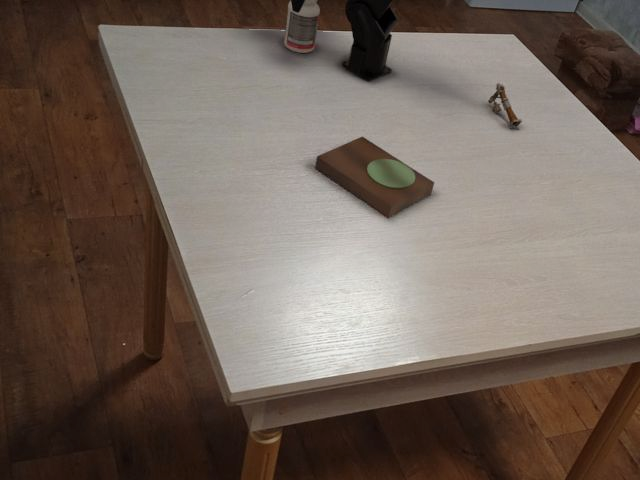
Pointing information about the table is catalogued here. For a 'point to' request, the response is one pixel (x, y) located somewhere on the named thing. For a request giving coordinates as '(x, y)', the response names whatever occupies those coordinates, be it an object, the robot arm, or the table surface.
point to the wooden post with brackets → (506, 104)
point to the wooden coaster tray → (374, 176)
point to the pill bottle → (302, 27)
